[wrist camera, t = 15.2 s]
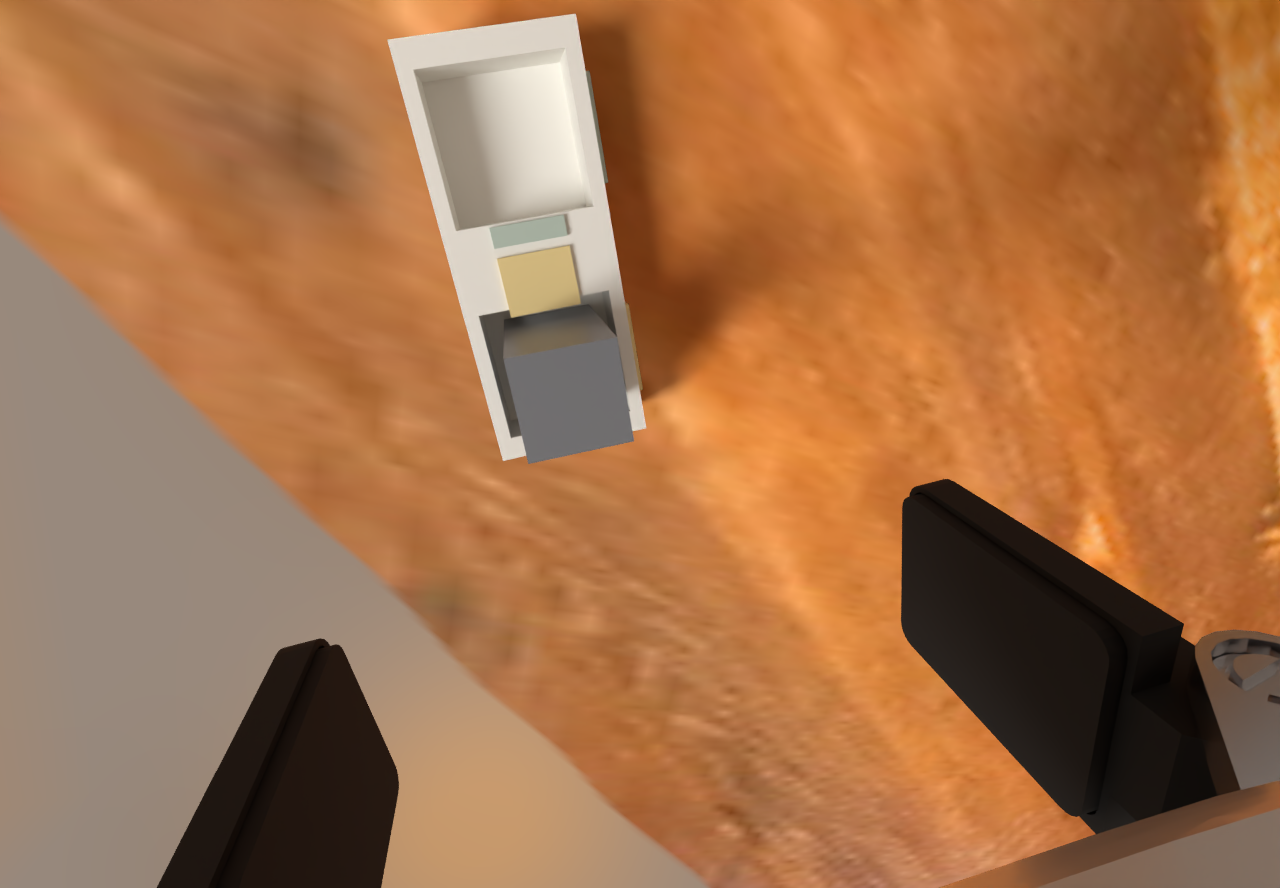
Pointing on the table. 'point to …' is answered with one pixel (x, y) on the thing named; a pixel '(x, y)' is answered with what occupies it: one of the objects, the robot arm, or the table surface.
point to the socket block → (516, 188)
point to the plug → (566, 382)
